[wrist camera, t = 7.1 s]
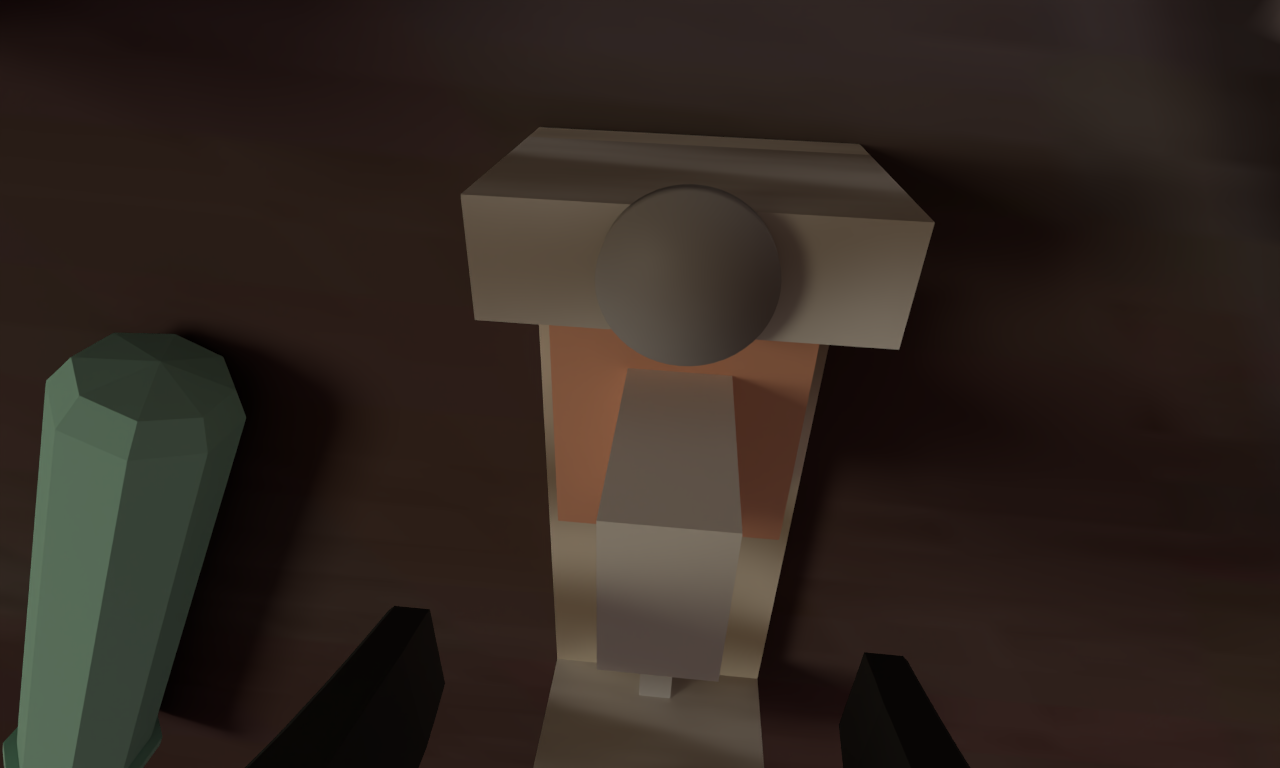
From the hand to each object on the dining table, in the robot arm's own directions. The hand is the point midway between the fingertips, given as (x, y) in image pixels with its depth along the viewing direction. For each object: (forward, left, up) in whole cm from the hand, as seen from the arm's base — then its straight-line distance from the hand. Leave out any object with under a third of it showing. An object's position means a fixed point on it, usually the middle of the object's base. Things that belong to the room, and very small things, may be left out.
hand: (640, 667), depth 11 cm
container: (+11, +21, -11) cm, 26 cm away
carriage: (0, 0, -9) cm, 9 cm away
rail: (-3, +4, -10) cm, 11 cm away
